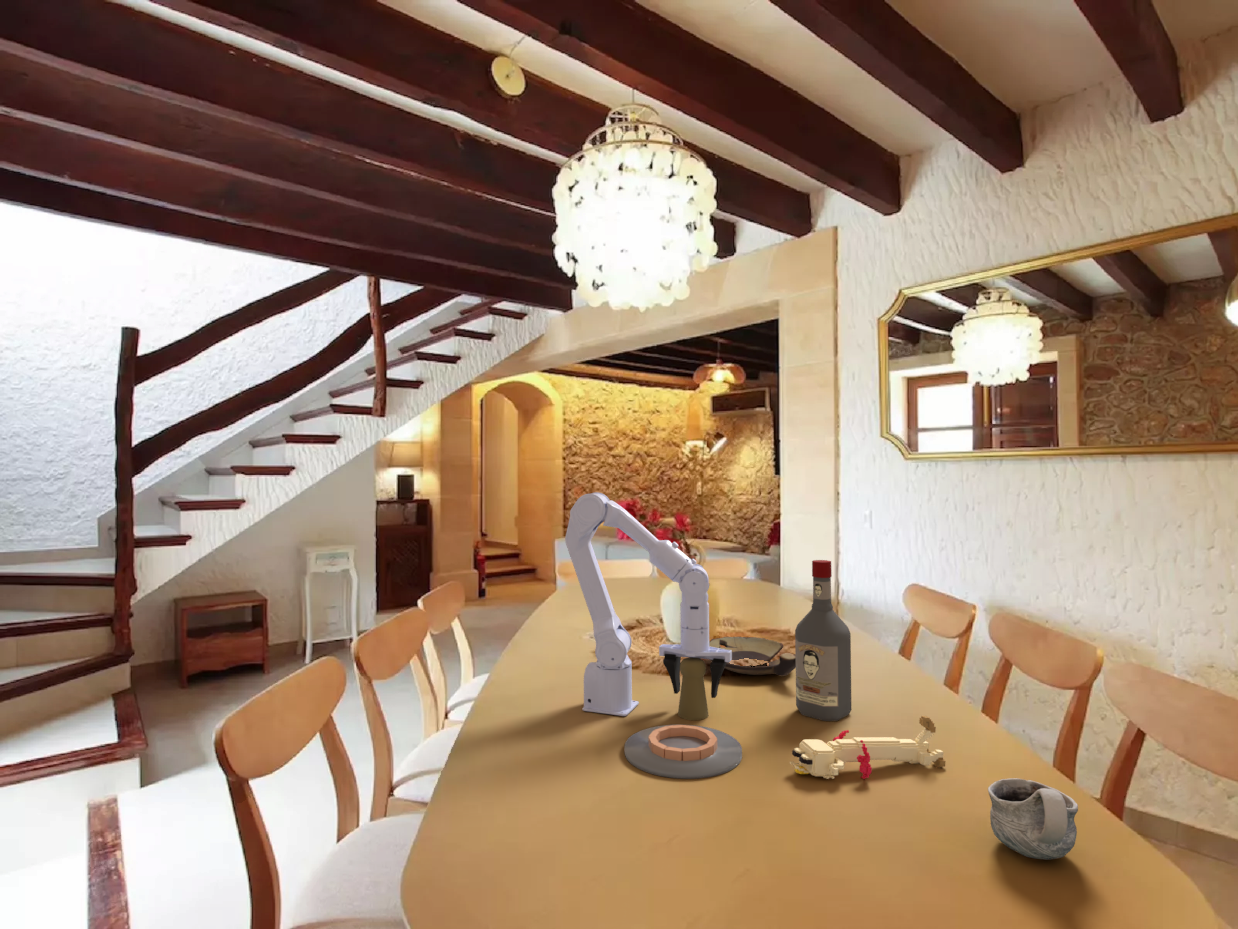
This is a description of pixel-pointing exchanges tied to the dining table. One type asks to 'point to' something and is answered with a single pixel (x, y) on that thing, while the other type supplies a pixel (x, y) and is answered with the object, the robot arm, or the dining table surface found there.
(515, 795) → the dining table surface
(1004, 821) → the mug
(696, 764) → the ring platter
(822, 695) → the liquor
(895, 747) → the cream toy figure
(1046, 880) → the dining table surface
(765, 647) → the oil lamp
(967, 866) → the dining table surface
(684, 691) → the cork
